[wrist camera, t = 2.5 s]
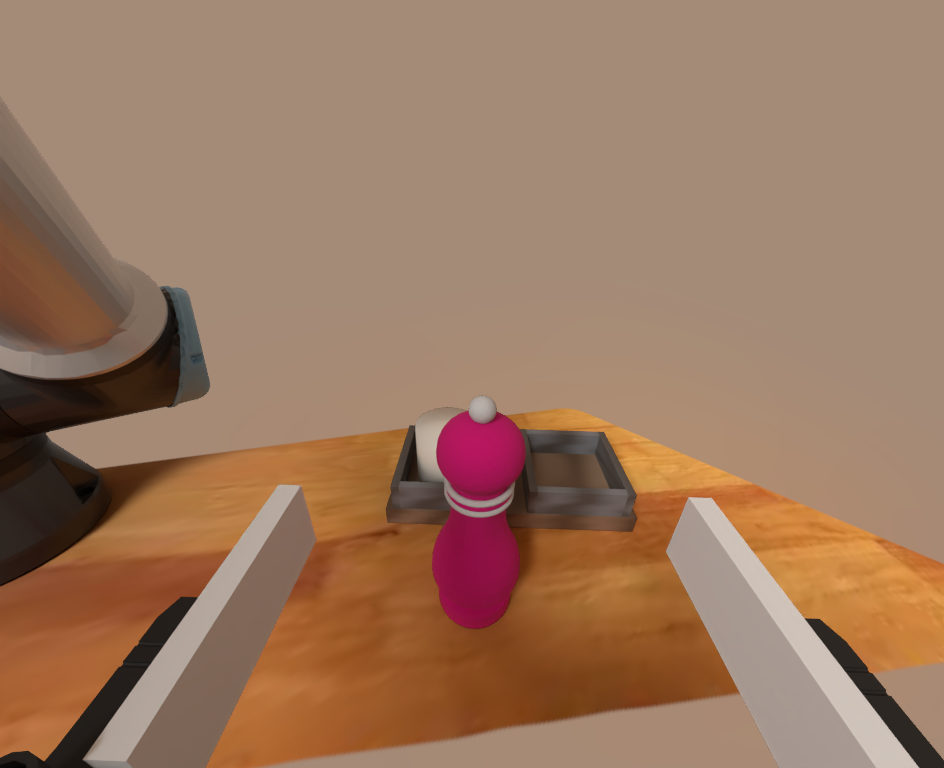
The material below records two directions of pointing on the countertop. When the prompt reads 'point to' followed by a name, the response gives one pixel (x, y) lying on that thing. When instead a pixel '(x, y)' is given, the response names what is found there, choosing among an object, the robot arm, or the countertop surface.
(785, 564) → the countertop surface
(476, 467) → the pepper mill
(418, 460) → the white glossy dome
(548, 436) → the two-compartment tray
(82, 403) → the robot arm
